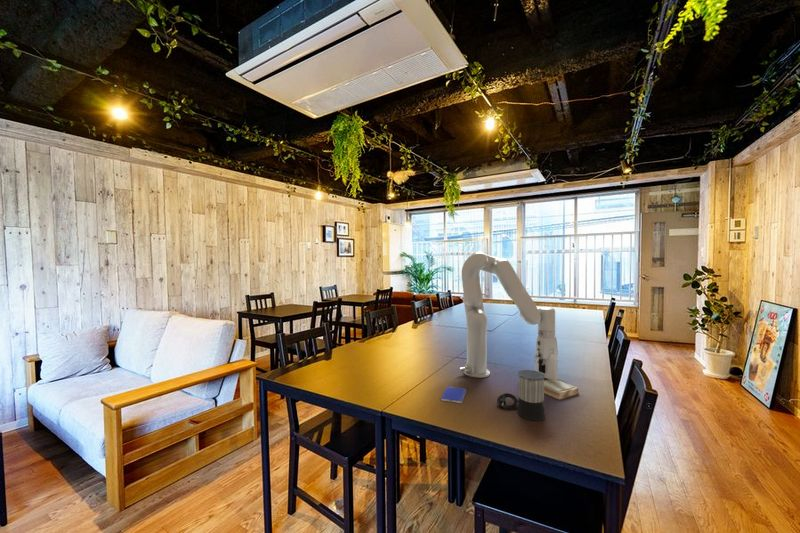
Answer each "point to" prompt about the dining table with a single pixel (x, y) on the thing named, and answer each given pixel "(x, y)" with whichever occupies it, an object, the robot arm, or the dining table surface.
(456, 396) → the hard drive
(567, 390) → the pedestal
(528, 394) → the milk frother
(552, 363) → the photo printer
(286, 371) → the dining table surface
